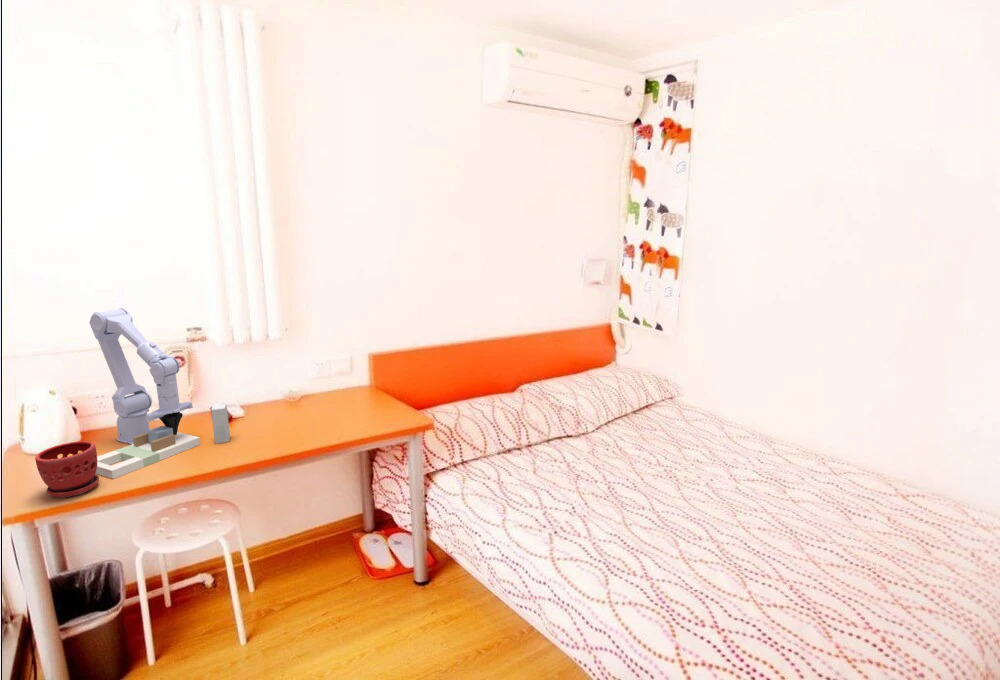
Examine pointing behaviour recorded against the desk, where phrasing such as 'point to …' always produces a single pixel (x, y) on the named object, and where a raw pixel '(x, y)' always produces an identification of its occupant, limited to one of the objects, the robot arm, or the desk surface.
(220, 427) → the skincare box
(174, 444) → the deck
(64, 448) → the plant pot
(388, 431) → the desk surface
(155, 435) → the block
